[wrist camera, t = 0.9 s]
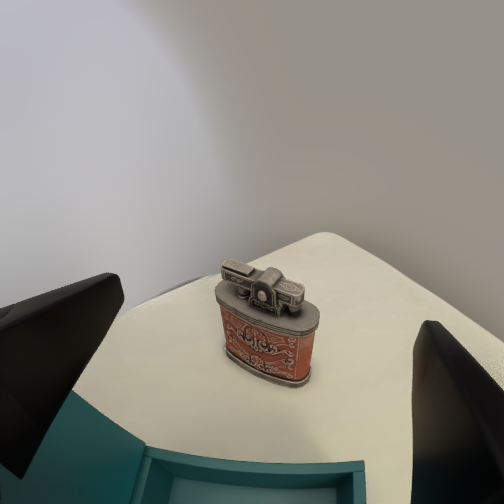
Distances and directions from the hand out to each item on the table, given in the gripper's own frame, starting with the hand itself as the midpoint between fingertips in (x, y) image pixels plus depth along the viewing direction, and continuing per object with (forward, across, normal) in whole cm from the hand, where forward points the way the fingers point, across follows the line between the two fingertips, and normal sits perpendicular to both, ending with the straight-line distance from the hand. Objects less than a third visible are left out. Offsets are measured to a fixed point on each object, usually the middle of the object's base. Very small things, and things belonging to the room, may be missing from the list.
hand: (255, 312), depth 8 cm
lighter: (+12, +2, +15) cm, 19 cm away
